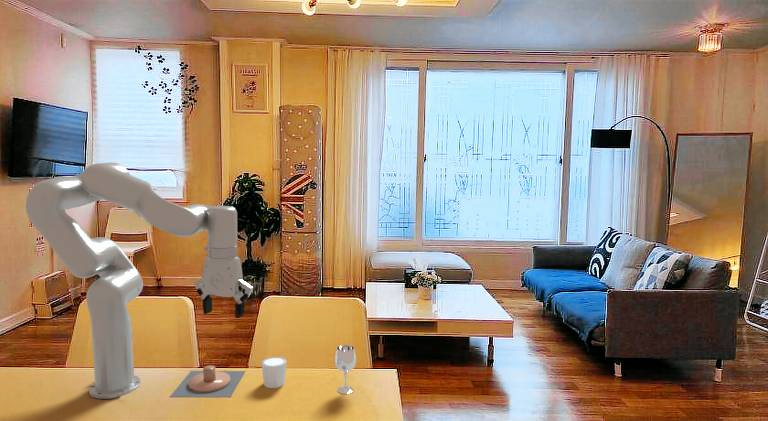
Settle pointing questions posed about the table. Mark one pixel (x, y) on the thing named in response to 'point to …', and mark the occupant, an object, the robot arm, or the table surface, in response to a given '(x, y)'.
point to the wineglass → (345, 364)
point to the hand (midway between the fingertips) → (223, 314)
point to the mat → (185, 391)
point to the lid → (209, 380)
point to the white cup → (274, 372)
